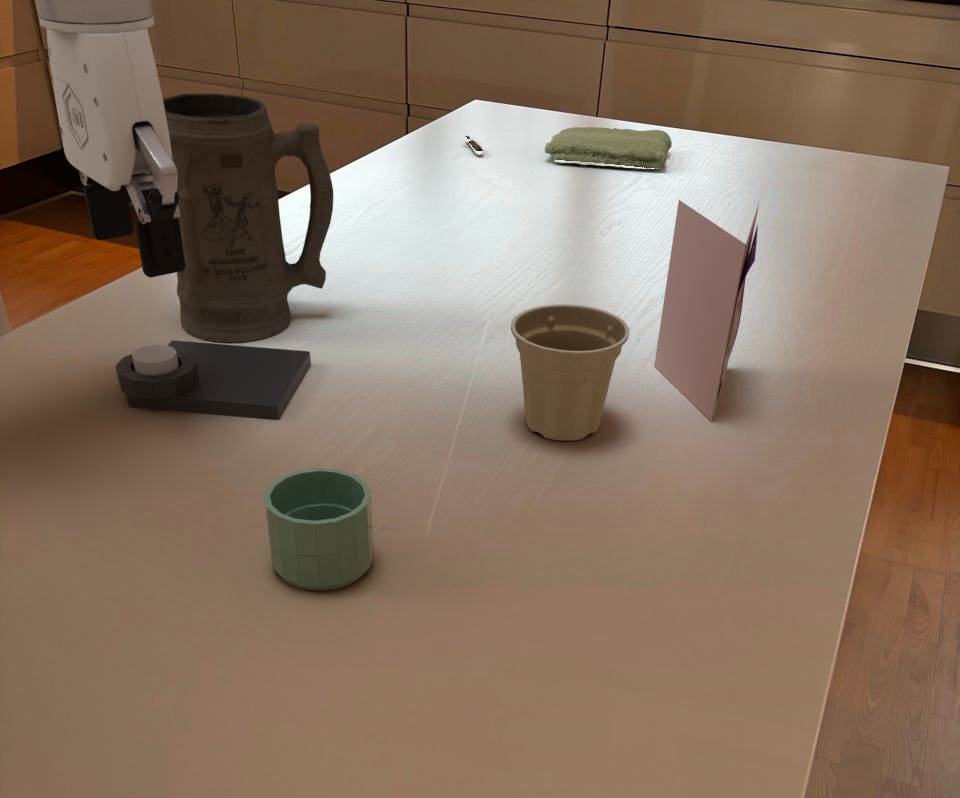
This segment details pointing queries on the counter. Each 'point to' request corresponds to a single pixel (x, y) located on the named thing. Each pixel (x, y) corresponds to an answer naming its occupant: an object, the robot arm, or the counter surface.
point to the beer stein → (240, 215)
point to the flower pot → (567, 366)
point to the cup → (319, 528)
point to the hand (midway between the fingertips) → (138, 254)
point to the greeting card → (702, 306)
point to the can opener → (474, 145)
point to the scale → (219, 380)
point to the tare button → (155, 360)
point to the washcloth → (611, 146)
